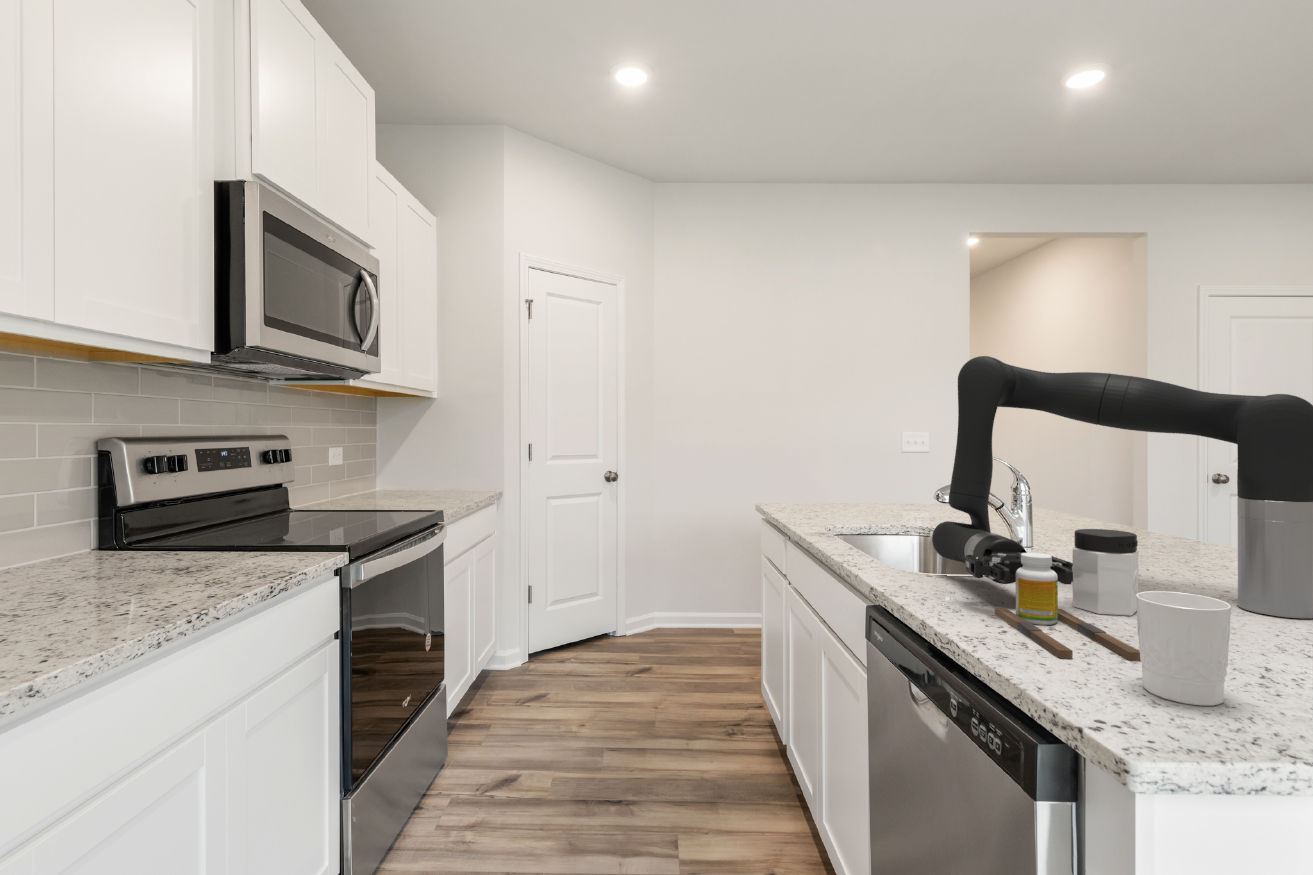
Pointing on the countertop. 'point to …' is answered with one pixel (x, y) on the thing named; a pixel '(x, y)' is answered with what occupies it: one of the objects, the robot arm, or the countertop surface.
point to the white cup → (1183, 646)
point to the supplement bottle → (1037, 590)
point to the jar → (1105, 571)
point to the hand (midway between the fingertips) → (1038, 577)
